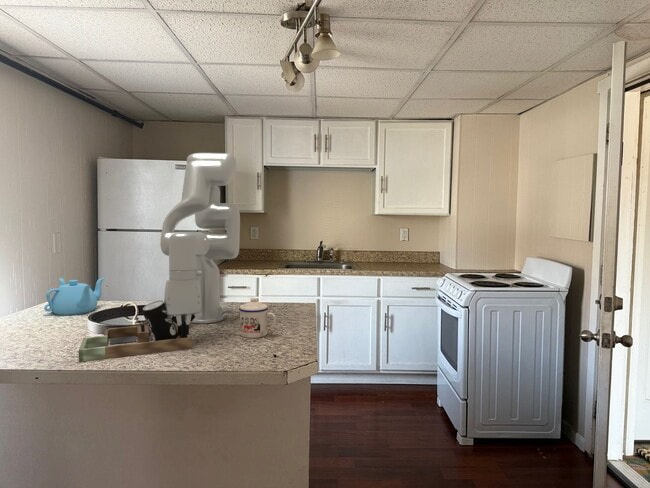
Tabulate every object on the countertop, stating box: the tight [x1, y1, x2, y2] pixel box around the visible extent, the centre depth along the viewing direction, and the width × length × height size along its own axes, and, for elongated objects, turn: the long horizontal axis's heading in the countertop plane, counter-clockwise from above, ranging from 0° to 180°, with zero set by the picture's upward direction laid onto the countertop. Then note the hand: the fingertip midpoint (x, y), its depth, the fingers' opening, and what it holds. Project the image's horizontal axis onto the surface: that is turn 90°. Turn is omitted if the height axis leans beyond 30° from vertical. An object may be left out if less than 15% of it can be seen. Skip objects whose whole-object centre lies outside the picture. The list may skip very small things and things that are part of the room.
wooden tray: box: [78, 321, 193, 363], centre depth 123 cm, size 28×20×3 cm
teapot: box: [43, 277, 106, 316], centre depth 163 cm, size 17×19×12 cm
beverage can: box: [142, 300, 178, 341], centre depth 121 cm, size 7×7×12 cm
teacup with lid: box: [238, 297, 277, 339], centre depth 134 cm, size 12×9×12 cm
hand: (183, 337), depth 124 cm, fingers closed
